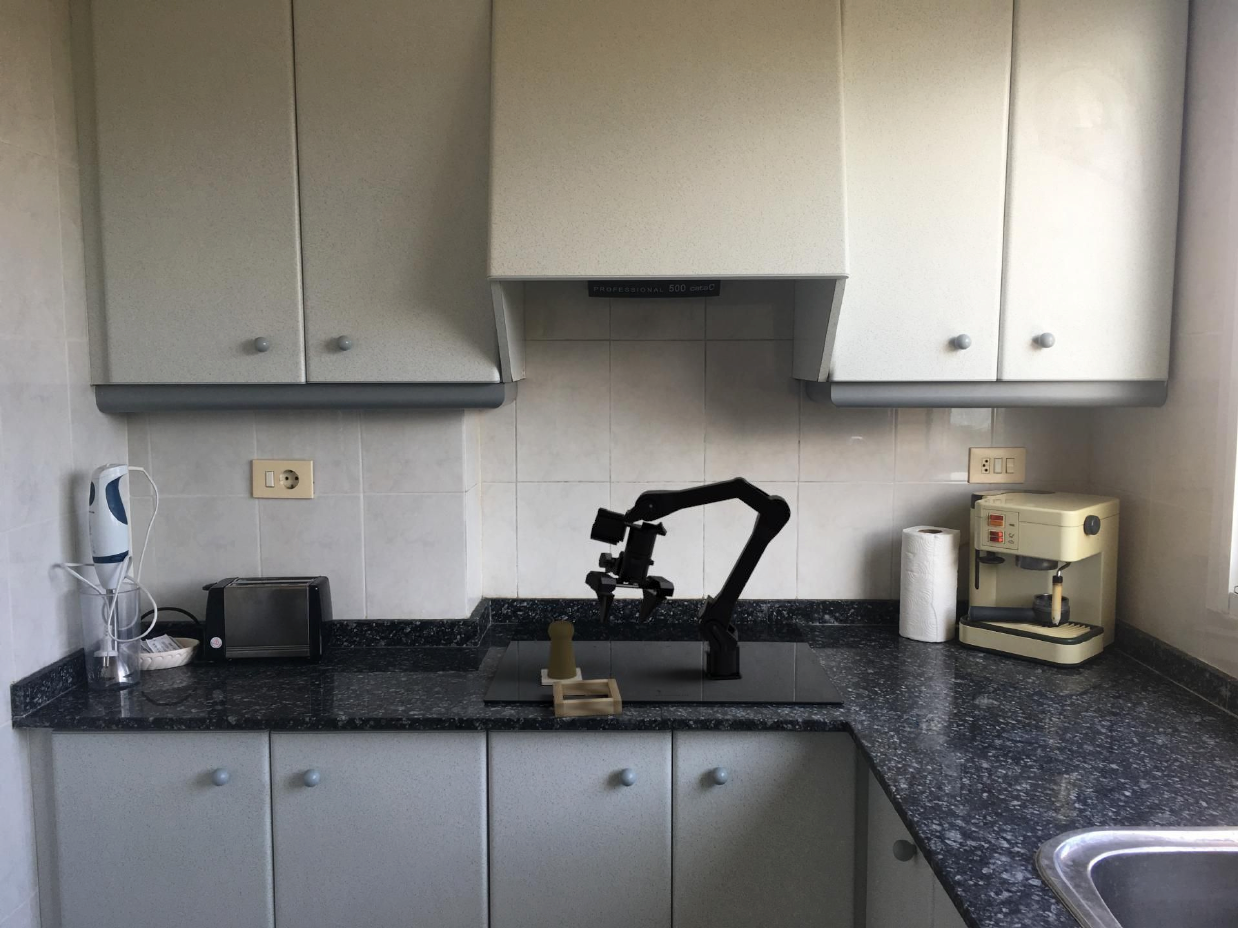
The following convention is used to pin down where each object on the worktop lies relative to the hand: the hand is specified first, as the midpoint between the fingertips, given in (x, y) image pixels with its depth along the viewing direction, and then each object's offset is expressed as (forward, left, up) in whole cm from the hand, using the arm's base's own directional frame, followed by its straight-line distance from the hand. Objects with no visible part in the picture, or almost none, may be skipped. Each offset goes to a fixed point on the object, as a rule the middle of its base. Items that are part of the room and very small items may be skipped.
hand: (621, 623), depth 186 cm
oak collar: (+9, +18, -10) cm, 22 cm away
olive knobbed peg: (+13, +3, -10) cm, 16 cm away
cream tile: (+13, +3, -10) cm, 17 cm away
